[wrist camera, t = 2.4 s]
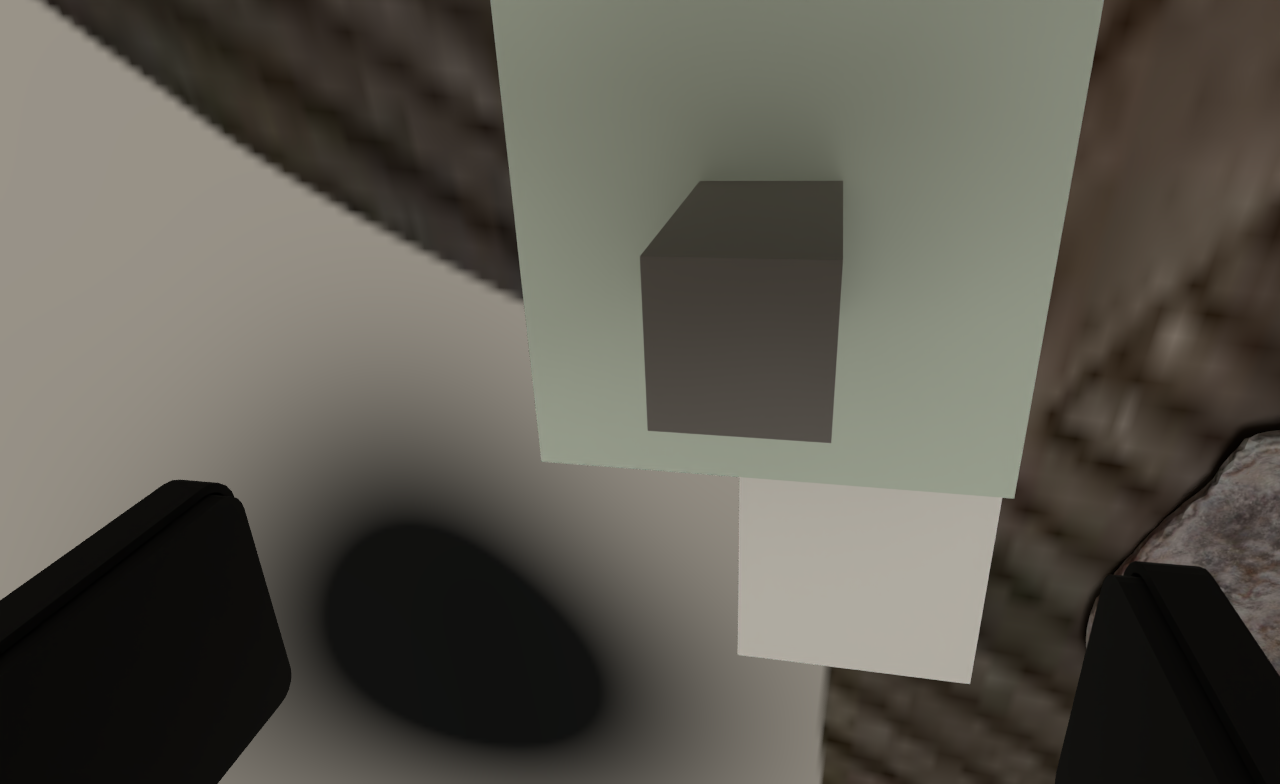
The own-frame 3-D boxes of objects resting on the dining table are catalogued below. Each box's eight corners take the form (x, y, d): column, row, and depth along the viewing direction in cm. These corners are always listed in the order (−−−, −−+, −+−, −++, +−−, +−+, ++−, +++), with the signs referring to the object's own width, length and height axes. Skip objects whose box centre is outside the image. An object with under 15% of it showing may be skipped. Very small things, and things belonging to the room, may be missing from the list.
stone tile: (1001, 477, 31) (1004, 485, 31) (967, 673, 35) (969, 684, 35) (741, 458, 33) (739, 465, 33) (739, 645, 38) (737, 654, 37)
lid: (1104, -71, 18) (1275, -118, 11) (1007, 480, 24) (1077, 683, 17) (501, -33, 21) (326, -50, 14) (551, 446, 27) (447, 606, 20)
